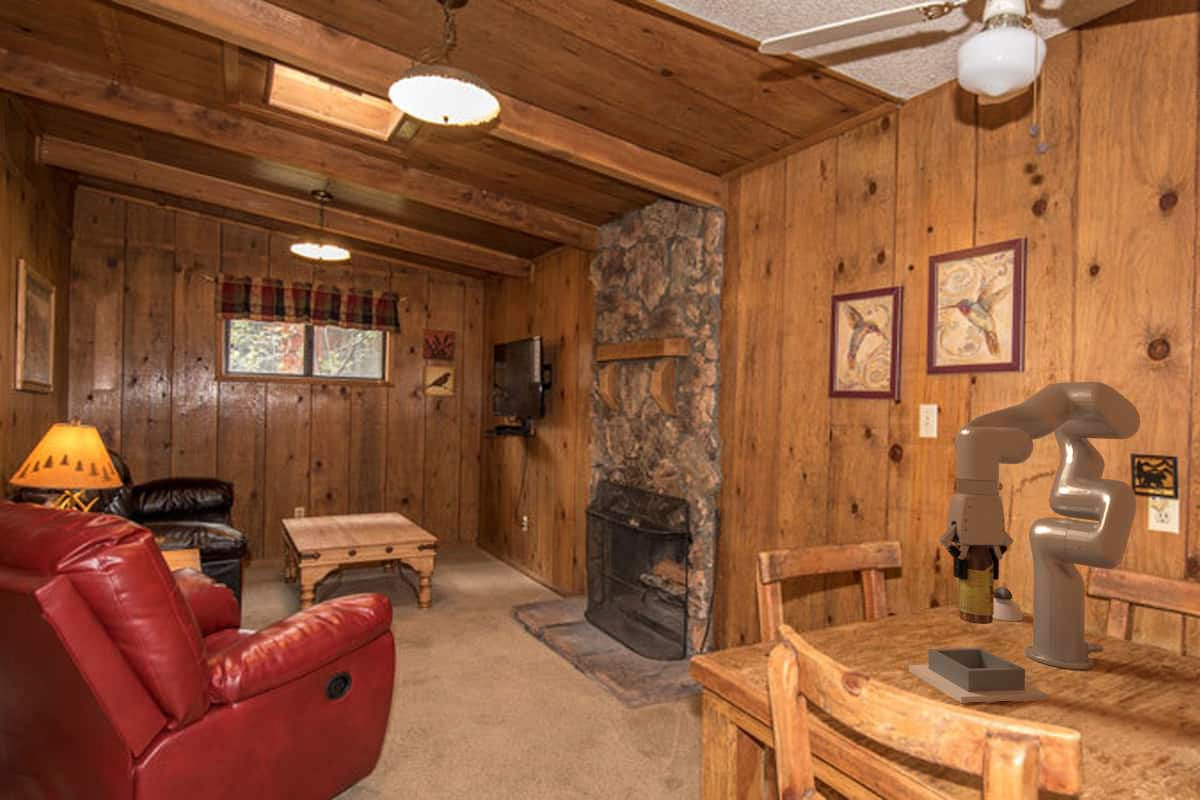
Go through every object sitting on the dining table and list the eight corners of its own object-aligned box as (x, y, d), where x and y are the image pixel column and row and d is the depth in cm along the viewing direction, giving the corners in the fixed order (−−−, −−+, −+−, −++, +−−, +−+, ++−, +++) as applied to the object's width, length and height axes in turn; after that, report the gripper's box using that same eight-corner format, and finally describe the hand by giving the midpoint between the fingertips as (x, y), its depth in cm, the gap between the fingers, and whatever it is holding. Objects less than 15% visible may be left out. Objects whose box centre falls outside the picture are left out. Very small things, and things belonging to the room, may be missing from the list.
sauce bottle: (998, 626, 131) (999, 524, 132) (963, 624, 132) (965, 522, 133) (986, 617, 137) (987, 519, 138) (953, 614, 139) (954, 518, 139)
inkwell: (1021, 615, 186) (1021, 579, 187) (1028, 632, 171) (1028, 593, 171) (983, 610, 191) (983, 574, 191) (986, 626, 175) (986, 588, 175)
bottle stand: (986, 668, 144) (986, 644, 144) (1046, 700, 128) (1047, 672, 128) (909, 671, 141) (909, 646, 141) (961, 703, 125) (961, 675, 125)
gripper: (1002, 487, 141) (1000, 573, 140) (926, 486, 138) (924, 574, 138) (1030, 491, 133) (1028, 582, 133) (950, 490, 131) (949, 583, 130)
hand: (975, 577), depth 135 cm, fingers closed on sauce bottle, 6 cm apart
